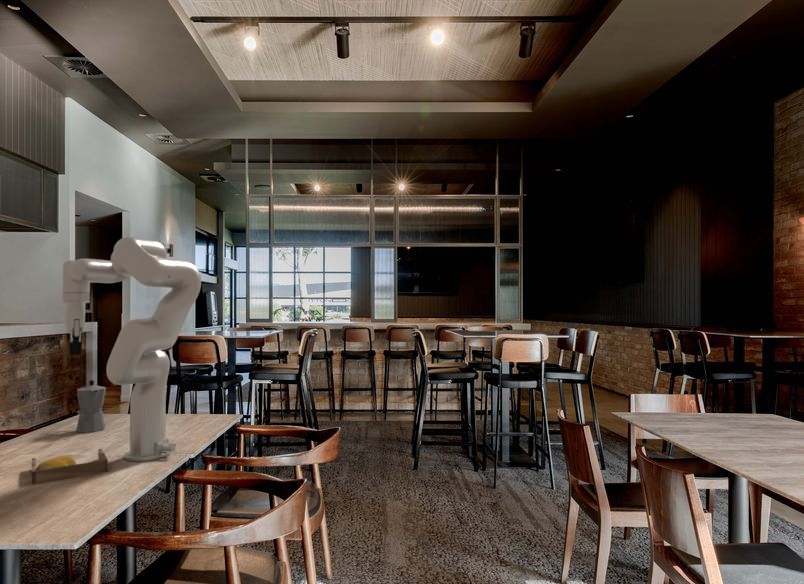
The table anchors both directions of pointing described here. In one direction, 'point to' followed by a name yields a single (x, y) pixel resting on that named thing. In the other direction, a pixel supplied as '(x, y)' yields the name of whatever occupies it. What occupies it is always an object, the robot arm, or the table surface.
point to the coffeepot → (91, 408)
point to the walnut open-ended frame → (70, 470)
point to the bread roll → (56, 463)
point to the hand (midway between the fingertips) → (75, 354)
